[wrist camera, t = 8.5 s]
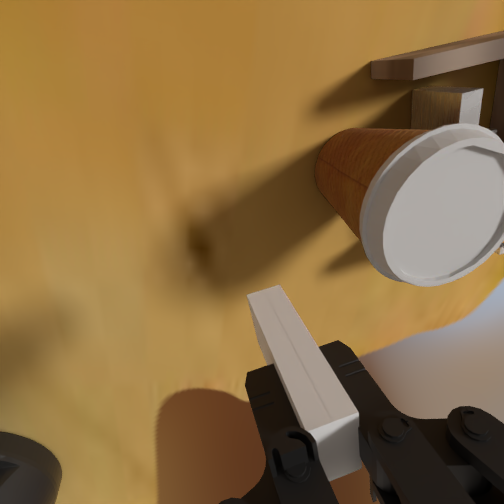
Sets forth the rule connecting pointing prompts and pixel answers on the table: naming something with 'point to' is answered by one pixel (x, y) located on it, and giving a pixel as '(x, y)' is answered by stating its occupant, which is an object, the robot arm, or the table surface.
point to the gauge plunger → (447, 110)
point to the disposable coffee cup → (418, 197)
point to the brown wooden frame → (450, 66)
